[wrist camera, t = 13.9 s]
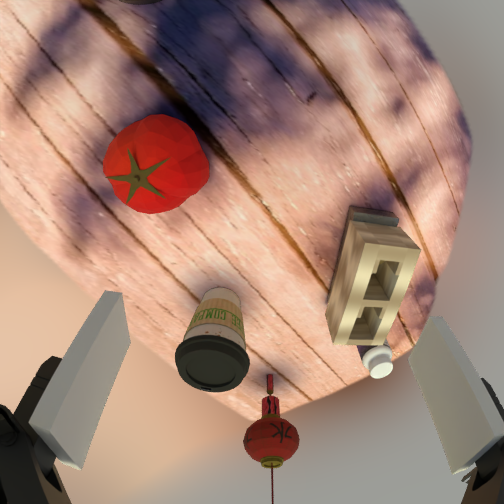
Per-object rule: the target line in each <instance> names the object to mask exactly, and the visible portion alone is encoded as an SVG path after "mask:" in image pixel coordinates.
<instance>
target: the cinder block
mask: <svg viewBox="0 0 504 504" xmlns="http://www.w3.org/2000/svg"><path fill="white" fill-rule="evenodd" d="M420 252H421V249H420V248H419V247H418V246H417V245H416V244H415V243H414V241H413V240H412V239H411V238H410V237H409V236H408V235H407V234H406V233H405V232H404V231H403V230H402V229H401V228H400V227H394V226H387V225H380V224H373V223H366V222H359V221H351V220H350V222H349V226H348V230H347V234H346V238H345V243H344V247H343V251H342V255H341V259H340V262H339V266H338V270H337V274H336V278H335V281H334V285H333V288H332V292H331V296H330V299H329V303H328V306H327V310H326V313H325V316H326V320H327V323H328V327H329V331H330V335H331V338H332V342H333V345H383V344H384V341H385V339H386V337H387V335H388V333H389V330H390V328H391V326H392V324H393V321H394V319H395V317H396V314H397V312H398V310H399V307H400V305H401V302H402V300H403V298H404V295H405V293H406V290H407V287H408V285H409V282H410V280H411V277H412V274H413V271H414V269H415V266H416V263H417V260H418V257H419V255H420ZM380 260H385V261H384V262H383V263H382V264H379V262H380ZM372 273H374V274H372Z"/></svg>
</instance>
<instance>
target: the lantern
mask: <svg viewBox="0 0 504 504" xmlns="http://www.w3.org/2000/svg"><path fill="white" fill-rule="evenodd" d="M267 393H268V394H269V395H270V396H267V397H265V398H263V399H262V418H261V419H260V420H257V421H256V422H254V423H253V424H252V425H251V426H250V427H249V428H248V429H247V431H246V434H245V437H244V440H243V443H244V447H245V450H246V452H247V453H248V454H249V455H250V456H251V457H252V459H254V460H256V461H258V462H261V465H262V466H263V467H265V468H271V475H272V476H271V479H272V504H273V468H278V467H280V466H282V464H283V461H286V460H287V459H289V458H291V457H292V455H293V454H294V453H295V452H296V450H297V449H298V446H299V435H298V433H297V430H296V428H295V427H294V426H293V425H292V424H290V423H289V422H288V421H287V420H285V419H282V418H280V411H279V399H278V398H277V397H275V396H271V394H273V376H272V375H271V374H268V375H267Z"/></svg>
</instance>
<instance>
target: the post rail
mask: <svg viewBox="0 0 504 504" xmlns="http://www.w3.org/2000/svg"><path fill="white" fill-rule="evenodd" d="M350 220H351V221H359V222H366V223H373V224H380V225H387V226H394V227H397V225H398V221H399V218H398V217H397V216H396V215H395V214H394V213H393V212H387V211H381V210H374V209H368V208H361V207H354V206H350V207H349V211H348V216H347V221H346V225H345V229H344V234H343V238H342V242H341V247H340V251H339V255H338V259H337V263H336V267H335V271H334V275H333V279H332V282H331V286H330V290H329V294H328V297H327V301H328V303H329V299H330V296H331V292H332V288H333V285H334V281H335V278H336V274H337V270H338V266H339V262H340V259H341V255H342V251H343V247H344V243H345V238H346V234H347V230H348V226H349V222H350ZM384 261H385V260H380V262H379V264H382V263H383V262H384ZM372 274H374V273H372Z"/></svg>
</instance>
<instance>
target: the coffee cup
mask: <svg viewBox="0 0 504 504" xmlns="http://www.w3.org/2000/svg"><path fill="white" fill-rule="evenodd" d="M175 362H176V366H177V368H178V372H179V375H180V376H181V378H182V379H183V380H184V381H185V382H186V383H188V384H189V385H191V386H192V387H194V388H197V389H199V390H203V391H207V392H224V391H228V390H231V389H233V388H235V387H237V386H238V385H239V384H240V383H241V382H242V380H243V378H244V377H245V376H246V374H247V372H248V370H249V366H250V360H249V357H248V354H247V353H246V343H245V334H244V326H243V317H242V313H241V306H240V300H239V297H238V296H237V295H236V294H235V293H234V292H233V291H232V290H230V289H227V288H222V287H217V288H213V289H210V290H209V291H207V292H206V293H205V295H204V296H203V299H202V301H201V303H200V305H199V306H198V308H197V309H196V311H195V314H194V316H193V318H192V320H191V322H190V324H189V327H188V329H187V331H186V333H185V335H184V339H183V342H182V343H181V344H179V346H178V347H177V349H176V352H175Z"/></svg>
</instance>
